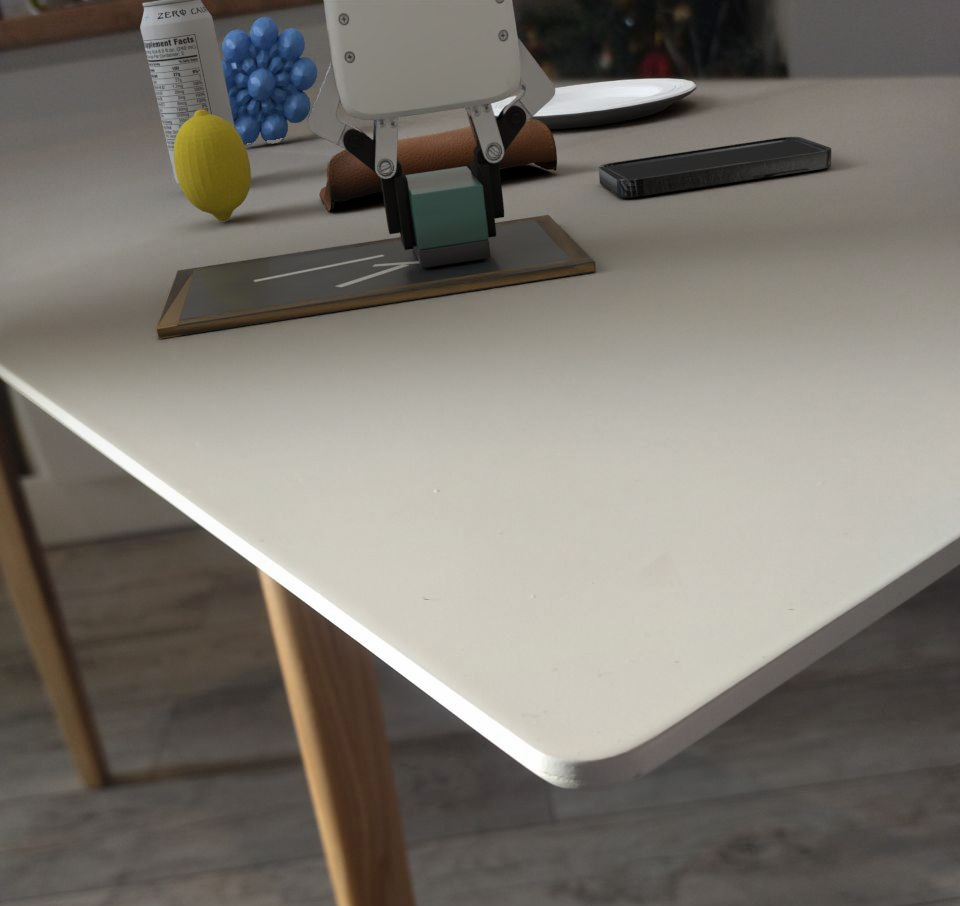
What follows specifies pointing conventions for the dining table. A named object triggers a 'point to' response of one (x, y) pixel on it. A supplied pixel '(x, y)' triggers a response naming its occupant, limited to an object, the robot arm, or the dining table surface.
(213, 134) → the lemon
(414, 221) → the eraser
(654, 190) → the phone
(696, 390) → the dining table surface
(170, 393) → the dining table surface
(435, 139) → the sunglasses case
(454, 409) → the dining table surface
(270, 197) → the dining table surface
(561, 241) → the slate board
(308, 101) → the grapes
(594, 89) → the plate
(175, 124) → the energy drink can
